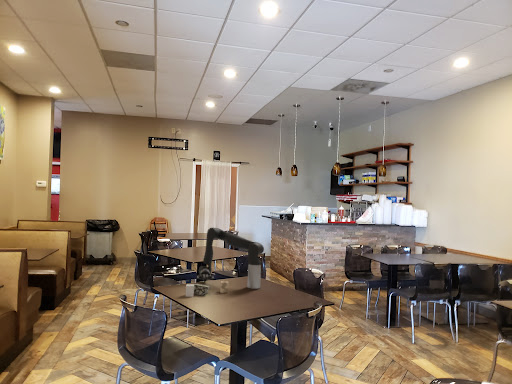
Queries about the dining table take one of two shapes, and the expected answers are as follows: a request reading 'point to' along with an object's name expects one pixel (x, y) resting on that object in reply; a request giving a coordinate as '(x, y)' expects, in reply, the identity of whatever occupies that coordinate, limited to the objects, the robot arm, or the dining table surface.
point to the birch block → (224, 287)
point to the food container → (201, 289)
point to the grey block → (189, 290)
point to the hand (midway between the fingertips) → (205, 279)
